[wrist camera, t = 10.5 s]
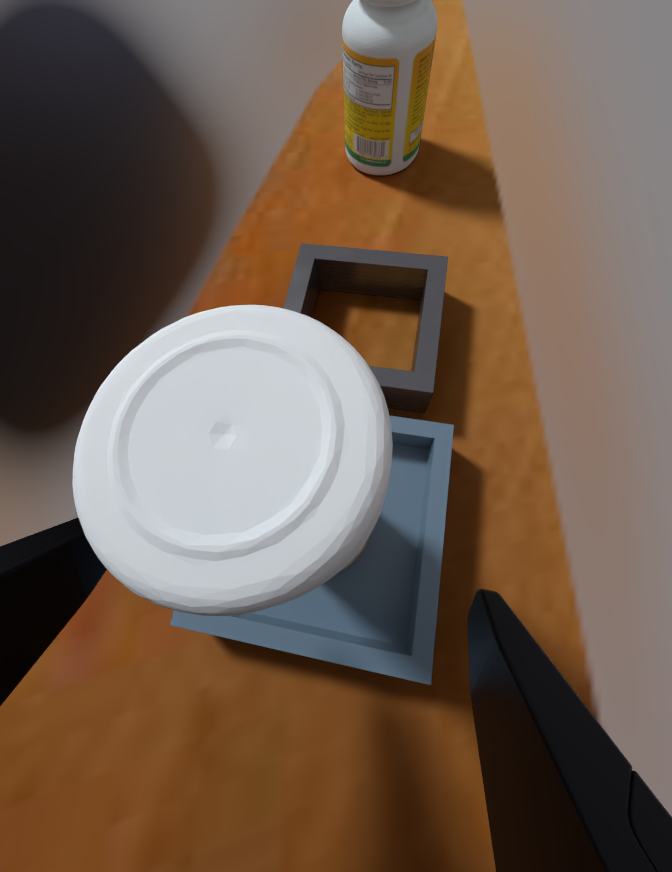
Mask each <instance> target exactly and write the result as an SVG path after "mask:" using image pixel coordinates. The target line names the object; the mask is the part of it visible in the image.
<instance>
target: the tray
mask: <svg viewBox="0 0 672 872" xmlns="http://www.w3.org/2000/svg"><path fill="white" fill-rule="evenodd" d="M390 421H391V429H392V443H393V448H392V464H391V471H390V477H389V483H388V489H387V493H386V496H385V500H384V503H383V506H382V510H381V513H380V516H379V518H378V520H377V522H376V524H375V526H374V529H373V530H372V532H371V534H370V536H369V540H368V543H367V545H366V547H365V549H364V551H363V553H362V554H361V556H360V557H359V558H358V559H357V560H356V561H355V562H354V563H353V564H352V565H350V566H348V567H347V568H346V569H344V570H342V571H340V572H338V573H337V574H336V575H335V576H333V577H332V578H331V579H330V580H328V581H327V582H325V583H324V584H322V585H320V586H319V587H317V588H316V589H314V590H312V591H310V592H308V593H306V594H304V595H302V596H300V597H298V598H296V599H293V600H291V601H289V602H286V603H283V604H279V605H276V606H273V607H270V608H267V609H264V610H260V611H255V612H251V613H247V614H240V615H231V616H202V615H196V614H189V613H183V612H179V611H175V610H174V612H173V616H172V619H171V623H170V625H172V626H176V627H180V628H185V629H189V630H193V631H198V632H202V633H206V634H211V635H215V636H219V637H224V638H228V639H232V640H237V641H241V642H245V643H250V644H254V645H258V646H263V647H267V648H272V649H276V650H280V651H285V652H289V653H293V654H298V655H302V656H306V657H311V658H315V659H319V660H324V661H328V662H332V663H337V664H341V665H345V666H350V667H354V668H358V669H363V670H367V671H371V672H376V673H380V674H384V675H389V676H393V677H397V678H402V679H406V680H410V681H415V682H419V683H423V684H428V685H431V678H432V667H433V656H434V644H435V633H436V622H437V610H438V599H439V588H440V576H441V565H442V554H443V542H444V531H445V520H446V508H447V497H448V486H449V474H450V463H451V452H452V440H453V429H454V425H451V424H445V423H438V422H431V421H424V420H417V419H410V418H403V417H396V416H390Z"/></svg>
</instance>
